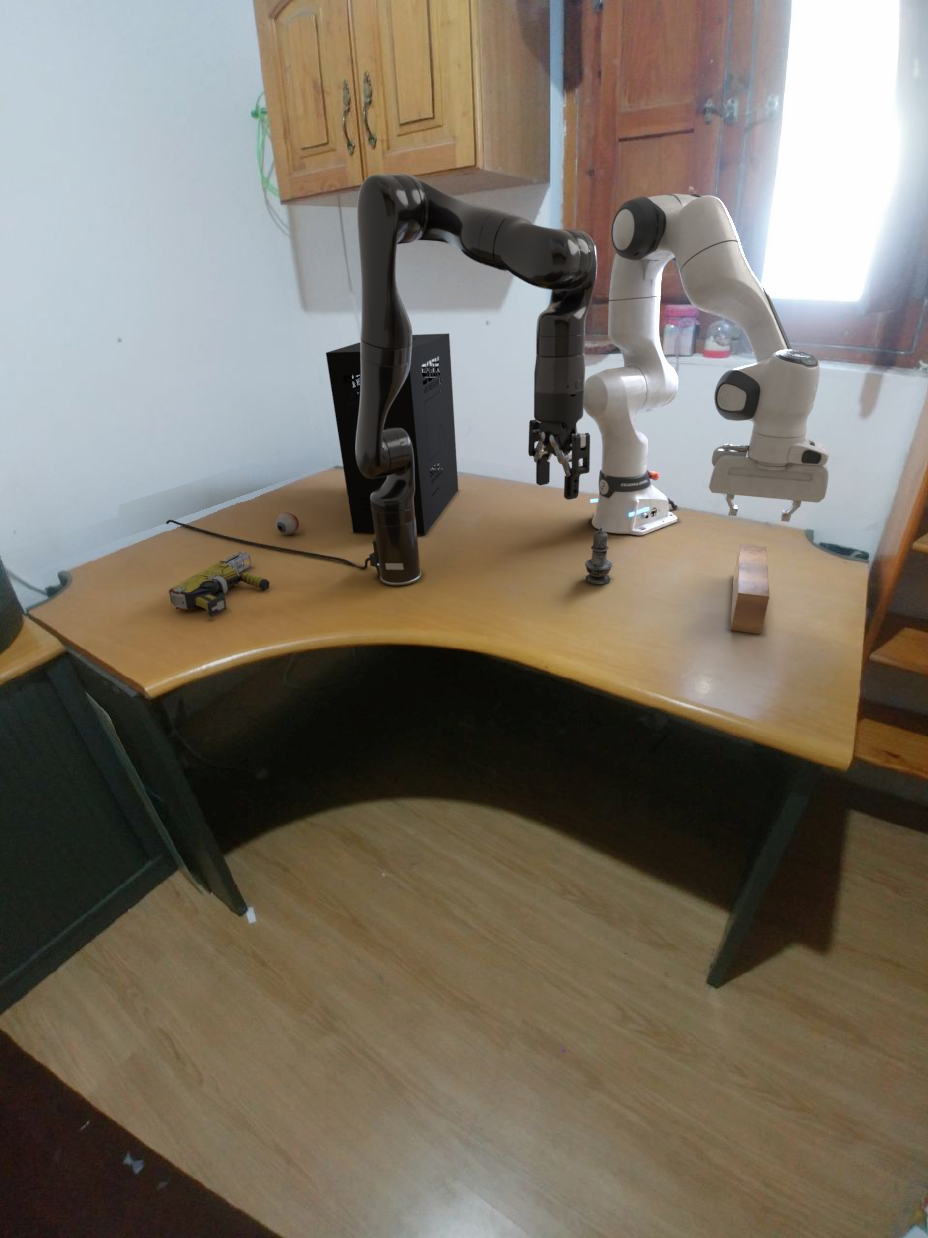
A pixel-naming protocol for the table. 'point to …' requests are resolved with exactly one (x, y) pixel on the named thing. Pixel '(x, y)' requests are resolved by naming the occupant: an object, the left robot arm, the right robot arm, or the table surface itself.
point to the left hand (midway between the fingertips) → (556, 491)
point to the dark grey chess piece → (599, 560)
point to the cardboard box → (418, 413)
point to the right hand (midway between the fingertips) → (758, 517)
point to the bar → (750, 589)
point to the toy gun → (214, 585)
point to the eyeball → (287, 523)
